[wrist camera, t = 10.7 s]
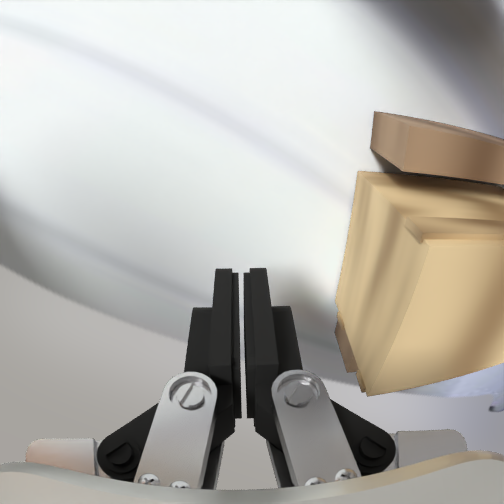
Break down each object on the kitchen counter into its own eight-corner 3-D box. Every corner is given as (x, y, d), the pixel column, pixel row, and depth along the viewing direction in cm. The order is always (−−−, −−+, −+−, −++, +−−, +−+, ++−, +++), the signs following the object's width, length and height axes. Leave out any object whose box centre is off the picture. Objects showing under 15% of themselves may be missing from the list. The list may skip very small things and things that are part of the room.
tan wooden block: (332, 303, 16) (363, 399, 11) (356, 166, 12) (428, 239, 7) (464, 292, 17) (511, 361, 12) (502, 183, 13) (577, 241, 8)
